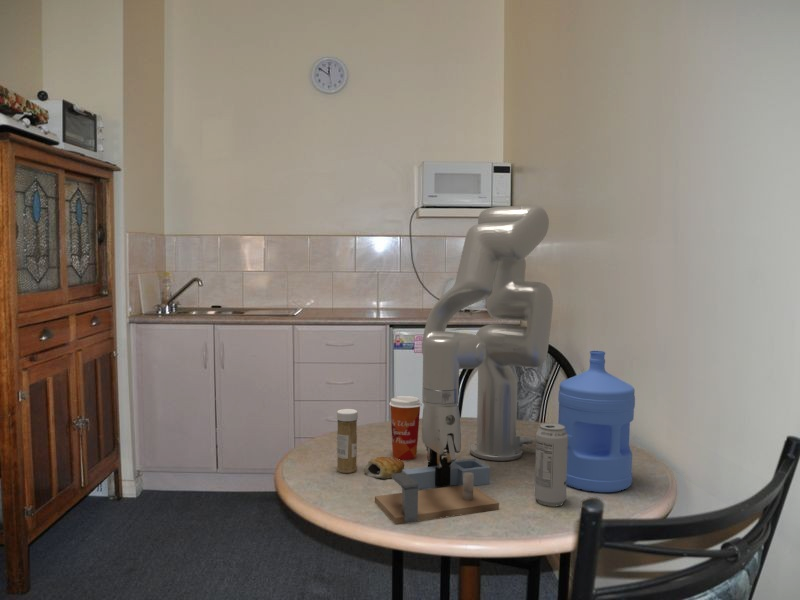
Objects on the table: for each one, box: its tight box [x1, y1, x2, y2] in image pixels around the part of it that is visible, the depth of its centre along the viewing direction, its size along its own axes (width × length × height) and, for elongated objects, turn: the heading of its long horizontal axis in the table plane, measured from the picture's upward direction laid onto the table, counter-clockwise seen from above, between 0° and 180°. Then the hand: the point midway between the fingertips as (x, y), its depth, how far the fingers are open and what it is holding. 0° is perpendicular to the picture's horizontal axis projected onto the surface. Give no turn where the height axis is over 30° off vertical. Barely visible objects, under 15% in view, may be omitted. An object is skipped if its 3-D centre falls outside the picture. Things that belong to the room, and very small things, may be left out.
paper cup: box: [388, 395, 423, 461], centre depth 152 cm, size 8×8×14 cm
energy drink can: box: [534, 422, 568, 507], centre depth 124 cm, size 6×6×15 cm
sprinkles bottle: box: [336, 408, 359, 474], centre depth 141 cm, size 5×5×14 cm
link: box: [401, 458, 491, 491], centre depth 134 cm, size 18×7×4 cm, turn 112°
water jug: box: [557, 350, 636, 493], centre depth 136 cm, size 16×16×28 cm
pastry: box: [363, 456, 405, 480], centre depth 141 cm, size 9×7×4 cm
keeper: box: [391, 472, 419, 524], centre depth 117 cm, size 2×7×7 cm, turn 22°
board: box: [374, 472, 500, 525], centre depth 122 cm, size 21×11×6 cm, turn 112°
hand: (438, 482), depth 134 cm, fingers closed on link, 3 cm apart
